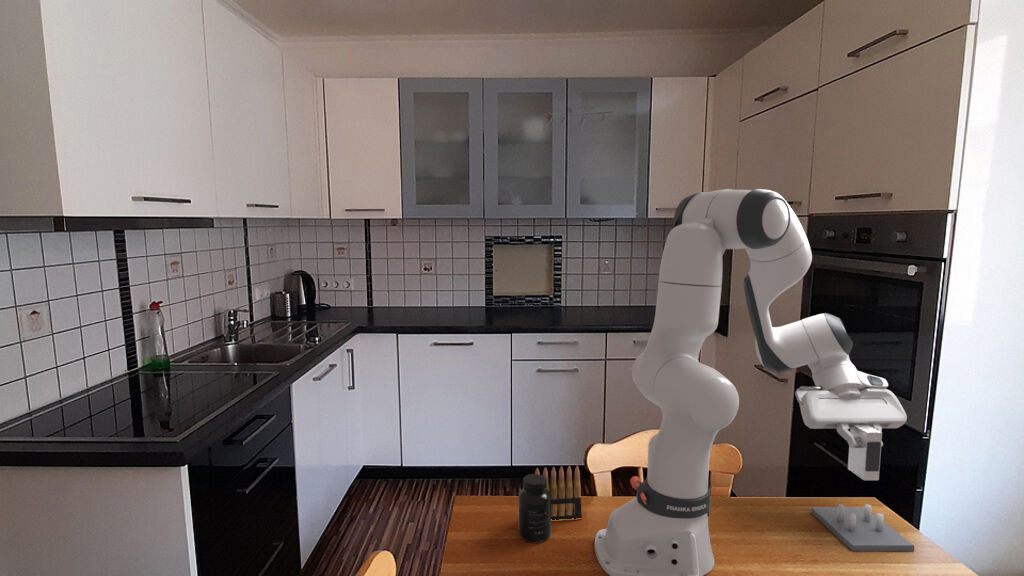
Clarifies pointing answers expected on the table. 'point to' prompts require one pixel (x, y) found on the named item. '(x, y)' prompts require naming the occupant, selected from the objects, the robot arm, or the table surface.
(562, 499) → the ammunition clip
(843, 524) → the pin tray
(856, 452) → the block
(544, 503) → the supplement bottle
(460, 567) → the table surface
